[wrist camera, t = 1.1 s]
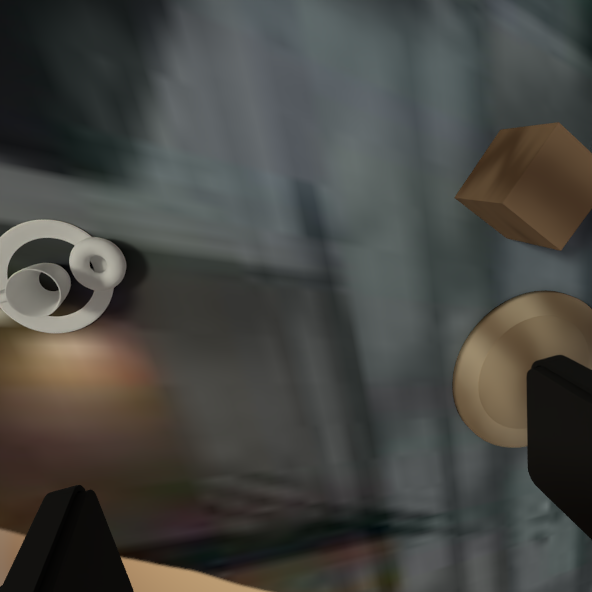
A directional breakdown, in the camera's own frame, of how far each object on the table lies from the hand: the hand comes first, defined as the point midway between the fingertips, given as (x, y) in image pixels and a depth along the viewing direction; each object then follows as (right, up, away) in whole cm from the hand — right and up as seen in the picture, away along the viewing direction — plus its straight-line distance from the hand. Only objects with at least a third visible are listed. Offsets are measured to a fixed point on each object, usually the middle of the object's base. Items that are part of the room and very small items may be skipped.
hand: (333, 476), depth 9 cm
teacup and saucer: (-15, +3, +23) cm, 28 cm away
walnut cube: (+16, +13, +26) cm, 33 cm away
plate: (+20, -3, +31) cm, 37 cm away
